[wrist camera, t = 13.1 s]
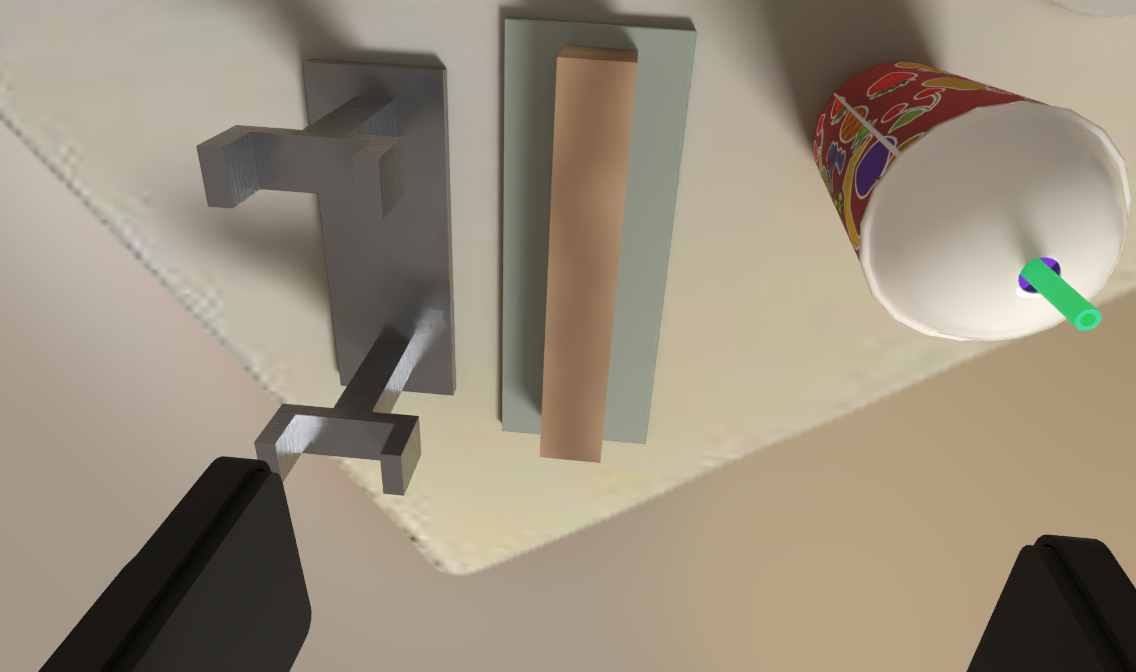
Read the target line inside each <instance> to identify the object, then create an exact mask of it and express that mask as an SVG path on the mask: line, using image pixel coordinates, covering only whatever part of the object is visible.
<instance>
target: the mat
mask: <svg viewBox="0 0 1136 672" xmlns="http://www.w3.org/2000/svg"><path fill="white" fill-rule="evenodd" d="M696 33H697V31H696V30H689V29H673V28H658V27H642V26H626V25H610V24H594V23H579V22H563V21H547V20H531V19H515V18H506V19H505V71H504V223H503V375H502V431H507V432H518V433H529V434H540V435H541V419H542V396H543V372H544V349H545V326H546V303H547V280H548V257H549V234H550V210H551V187H552V164H553V141H554V118H555V95H556V72H557V57H558V55H559V53H560V52H561V50H562V48H563V47H564V45H572V46H587V47H601V48H615V49H630V50H638V64H637V74H636V85H635V96H634V106H633V117H632V128H631V139H630V149H629V160H628V171H627V181H626V192H625V203H624V213H623V224H622V235H621V246H620V256H619V267H618V278H617V288H616V299H615V310H614V320H613V331H612V342H611V352H610V363H609V374H608V385H607V395H606V406H605V417H604V427H603V438H602V440H605V441H616V442H626V443H637V444H646V437H647V429H648V421H649V413H650V405H651V397H652V389H653V381H654V373H655V365H656V357H657V349H658V340H659V332H660V324H661V316H662V308H663V300H664V292H665V284H666V276H667V268H668V260H669V252H670V244H671V235H672V227H673V219H674V211H675V203H676V195H677V187H678V179H679V171H680V163H681V155H682V147H683V138H684V130H685V122H686V114H687V106H688V98H689V90H690V82H691V74H692V66H693V58H694V50H695V42H696Z"/></svg>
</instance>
